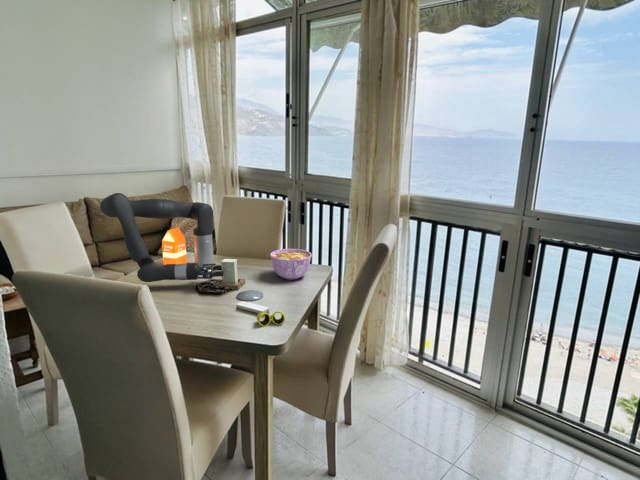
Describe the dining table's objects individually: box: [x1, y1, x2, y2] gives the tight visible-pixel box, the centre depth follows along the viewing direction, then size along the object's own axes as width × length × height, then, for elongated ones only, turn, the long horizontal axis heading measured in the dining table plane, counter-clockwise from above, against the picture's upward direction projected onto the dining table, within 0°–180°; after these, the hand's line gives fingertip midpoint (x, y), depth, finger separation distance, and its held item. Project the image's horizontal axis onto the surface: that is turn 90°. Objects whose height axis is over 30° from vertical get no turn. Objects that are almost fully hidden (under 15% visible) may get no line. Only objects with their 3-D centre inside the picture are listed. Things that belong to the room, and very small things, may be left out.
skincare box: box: [220, 258, 239, 284], centre depth 178 cm, size 6×4×12 cm
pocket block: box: [214, 277, 246, 291], centre depth 179 cm, size 9×11×2 cm
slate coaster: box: [236, 289, 264, 302], centre depth 168 cm, size 11×11×1 cm
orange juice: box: [161, 227, 188, 265], centre depth 202 cm, size 8×9×20 cm
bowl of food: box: [269, 248, 313, 280], centre depth 191 cm, size 20×20×12 cm
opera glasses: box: [256, 310, 286, 328], centre depth 143 cm, size 10×5×5 cm, turn 107°
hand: (224, 270), depth 177 cm, fingers open, 8 cm apart
